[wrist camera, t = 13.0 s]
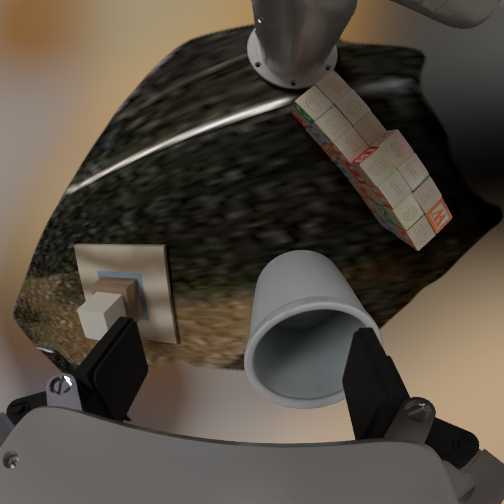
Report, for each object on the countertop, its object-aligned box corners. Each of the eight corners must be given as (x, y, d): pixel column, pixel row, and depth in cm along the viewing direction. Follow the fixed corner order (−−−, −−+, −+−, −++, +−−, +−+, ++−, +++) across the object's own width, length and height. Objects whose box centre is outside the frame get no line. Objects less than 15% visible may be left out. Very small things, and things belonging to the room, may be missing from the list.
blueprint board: (77, 243, 43) (73, 245, 42) (165, 244, 42) (163, 247, 41) (97, 329, 49) (94, 331, 48) (178, 340, 48) (176, 343, 47)
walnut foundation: (102, 276, 44) (90, 285, 40) (136, 278, 43) (125, 289, 40) (110, 311, 46) (100, 322, 42) (143, 315, 46) (134, 327, 42)
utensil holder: (345, 238, 40) (389, 292, 24) (347, 323, 45) (375, 398, 28) (246, 251, 42) (231, 313, 25) (261, 334, 46) (255, 414, 30)
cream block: (96, 291, 40) (77, 309, 35) (121, 294, 40) (103, 313, 34) (103, 318, 42) (85, 337, 36) (127, 321, 42) (111, 342, 36)
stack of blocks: (288, 113, 35) (295, 93, 23) (320, 87, 33) (340, 59, 22) (381, 226, 39) (418, 253, 28) (410, 200, 38) (454, 218, 26)
